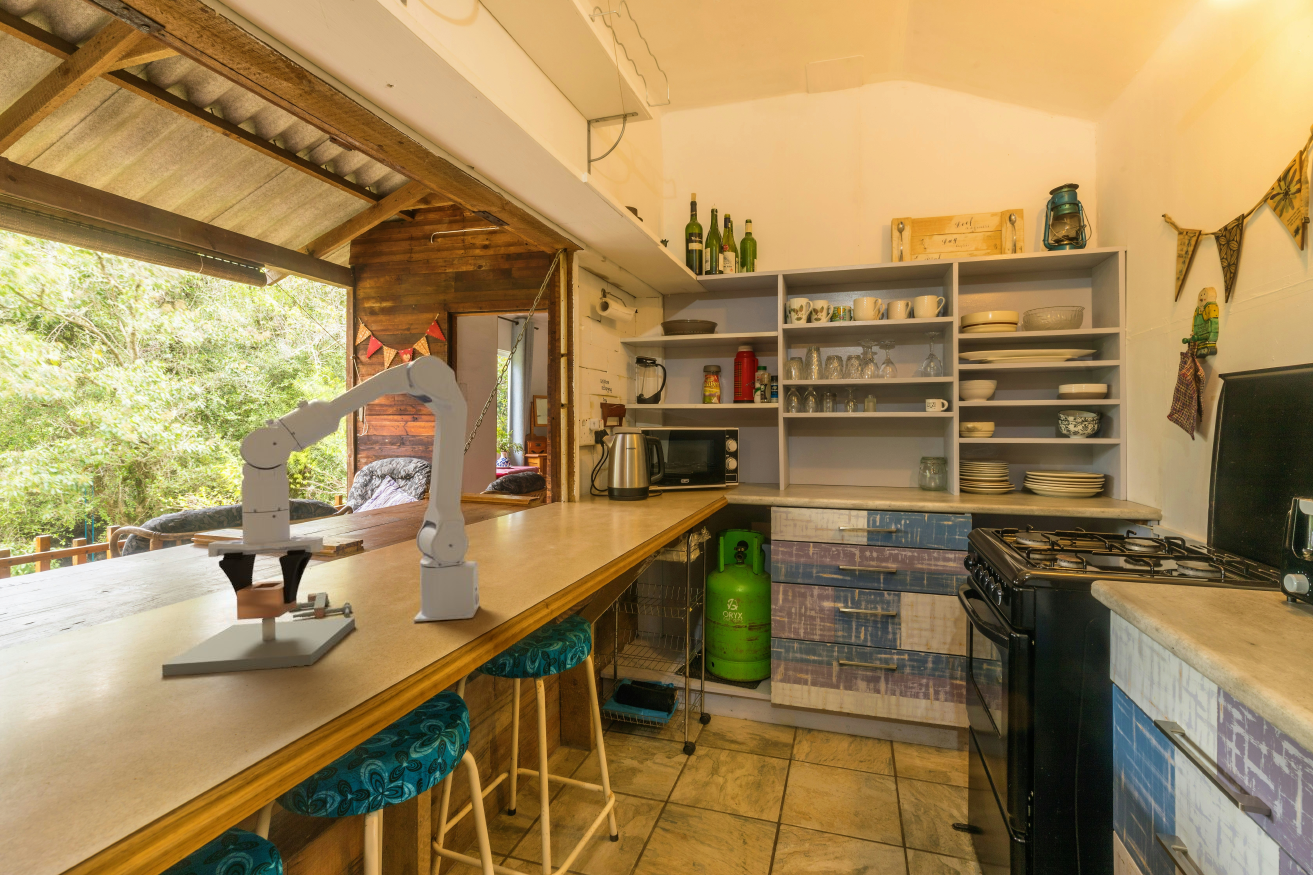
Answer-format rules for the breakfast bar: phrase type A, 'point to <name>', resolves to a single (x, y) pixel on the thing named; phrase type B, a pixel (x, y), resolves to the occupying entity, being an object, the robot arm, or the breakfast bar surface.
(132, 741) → the breakfast bar surface
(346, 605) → the clamp
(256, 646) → the pin board
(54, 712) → the breakfast bar surface
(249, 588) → the collar block
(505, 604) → the breakfast bar surface
